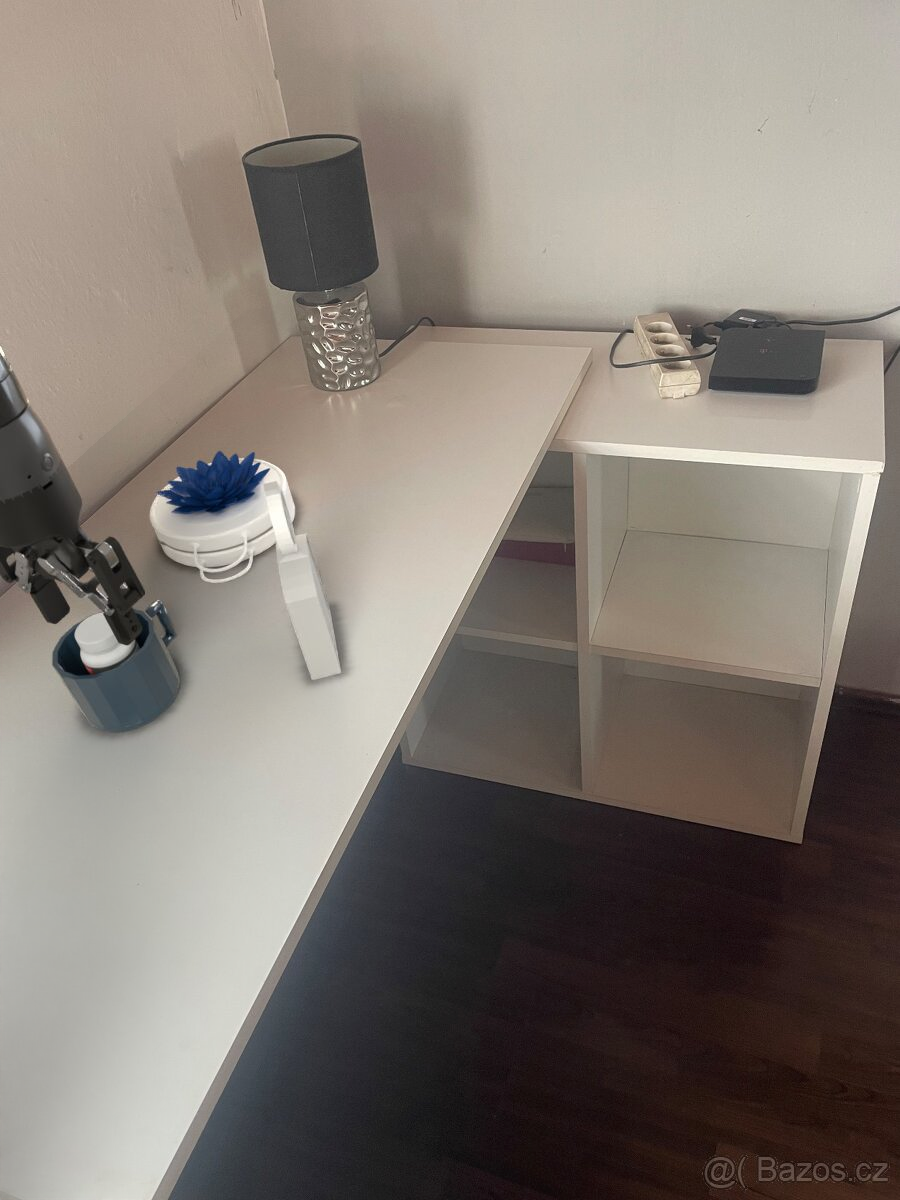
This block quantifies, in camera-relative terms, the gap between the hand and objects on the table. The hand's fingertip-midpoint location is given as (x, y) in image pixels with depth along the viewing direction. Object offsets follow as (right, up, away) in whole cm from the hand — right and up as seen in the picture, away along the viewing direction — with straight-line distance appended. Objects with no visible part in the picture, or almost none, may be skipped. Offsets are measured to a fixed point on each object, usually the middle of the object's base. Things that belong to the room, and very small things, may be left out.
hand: (95, 627), depth 75 cm
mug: (+2, -6, +7) cm, 9 cm away
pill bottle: (+1, -6, +5) cm, 8 cm away
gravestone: (+18, -2, +8) cm, 20 cm away
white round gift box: (+6, +9, +23) cm, 26 cm away
